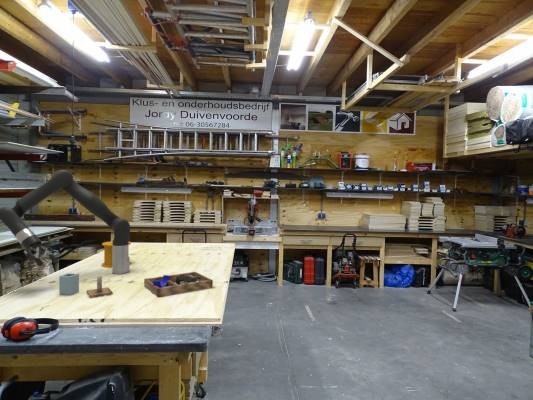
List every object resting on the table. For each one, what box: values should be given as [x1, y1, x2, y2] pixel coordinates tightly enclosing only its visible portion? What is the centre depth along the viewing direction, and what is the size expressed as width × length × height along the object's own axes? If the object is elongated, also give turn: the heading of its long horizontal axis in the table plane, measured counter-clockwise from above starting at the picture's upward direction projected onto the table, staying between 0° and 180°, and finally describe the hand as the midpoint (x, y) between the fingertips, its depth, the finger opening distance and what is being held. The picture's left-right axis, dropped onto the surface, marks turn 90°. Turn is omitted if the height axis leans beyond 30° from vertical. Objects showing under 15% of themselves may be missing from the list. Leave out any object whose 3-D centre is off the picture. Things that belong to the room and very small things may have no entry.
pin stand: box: [85, 276, 114, 299], centre depth 170 cm, size 10×10×8 cm
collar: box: [58, 272, 80, 296], centre depth 170 cm, size 6×6×9 cm
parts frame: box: [143, 271, 214, 298], centre depth 184 cm, size 30×21×4 cm
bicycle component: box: [174, 275, 201, 285], centre depth 188 cm, size 12×7×15 cm
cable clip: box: [153, 274, 170, 288], centre depth 178 cm, size 12×4×6 cm, turn 170°
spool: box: [101, 240, 132, 269], centre depth 232 cm, size 18×18×15 cm
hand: (48, 263), depth 171 cm, fingers open, 8 cm apart
